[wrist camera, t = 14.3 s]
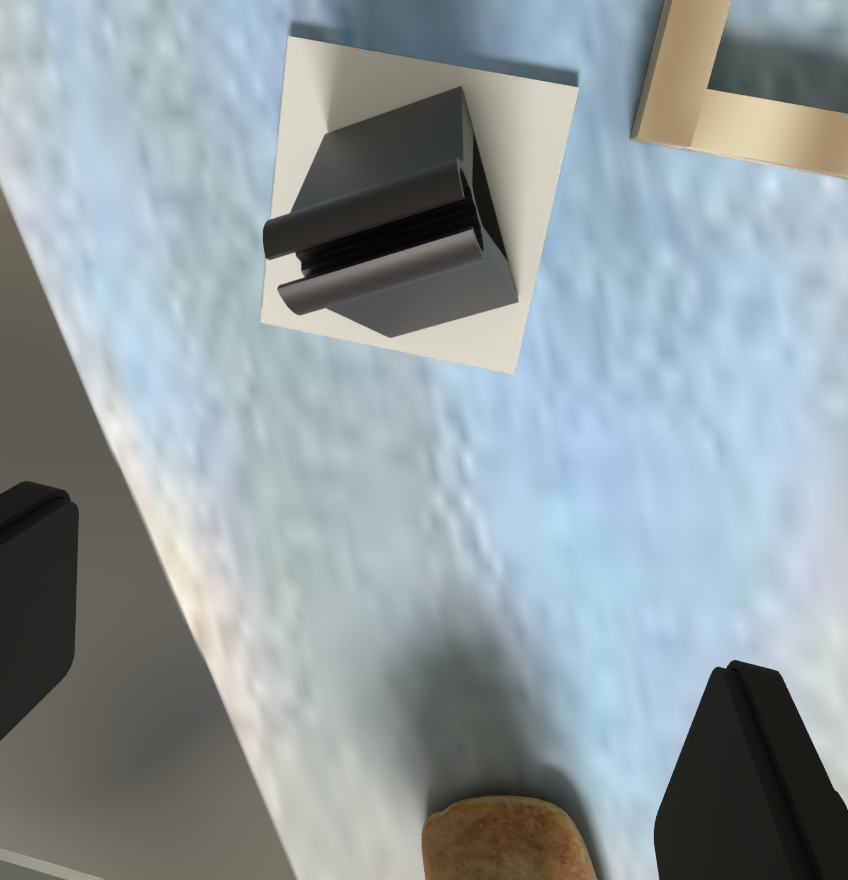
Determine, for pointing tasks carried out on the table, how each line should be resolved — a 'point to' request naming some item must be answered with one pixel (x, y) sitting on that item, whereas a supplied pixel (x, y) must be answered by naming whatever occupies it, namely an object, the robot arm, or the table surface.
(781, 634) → the table surface
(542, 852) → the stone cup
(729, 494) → the table surface
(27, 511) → the robot arm
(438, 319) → the phone stand
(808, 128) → the wooden frame
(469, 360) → the cream mat
